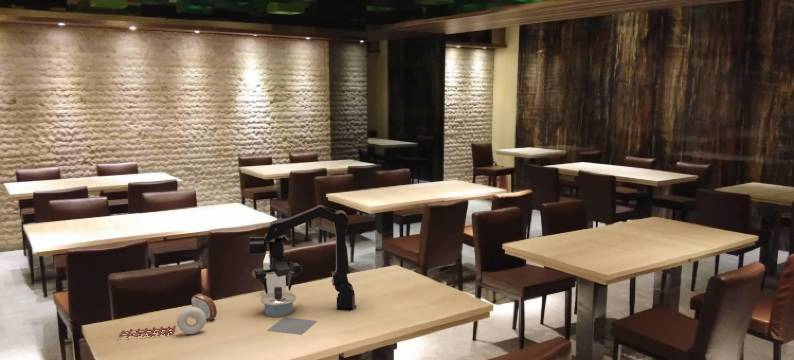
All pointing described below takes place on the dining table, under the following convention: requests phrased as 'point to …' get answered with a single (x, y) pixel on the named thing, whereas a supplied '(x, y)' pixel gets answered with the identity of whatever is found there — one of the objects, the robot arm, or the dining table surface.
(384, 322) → the dining table surface
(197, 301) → the tin
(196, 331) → the donut
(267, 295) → the lid
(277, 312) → the blue bowl
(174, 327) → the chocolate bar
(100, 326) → the dining table surface
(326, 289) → the dining table surface
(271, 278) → the milk carton
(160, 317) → the dining table surface
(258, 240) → the robot arm
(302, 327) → the mat
